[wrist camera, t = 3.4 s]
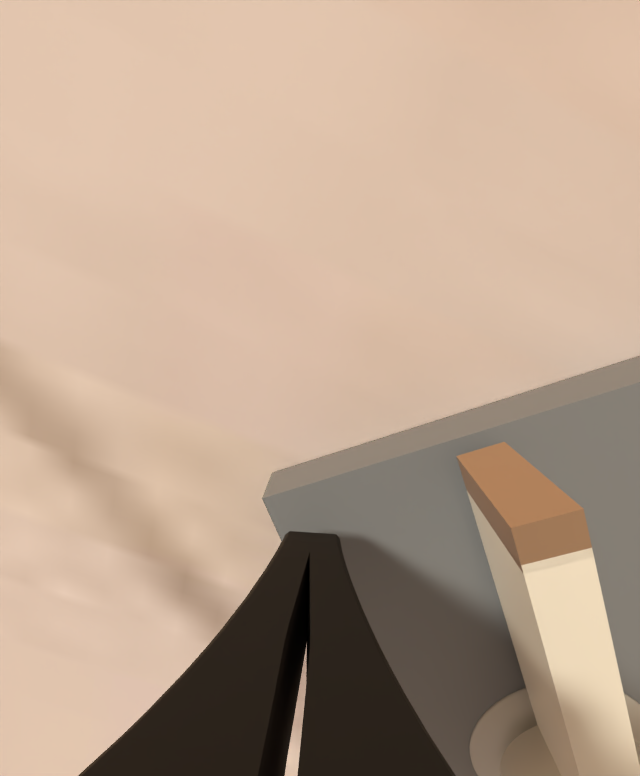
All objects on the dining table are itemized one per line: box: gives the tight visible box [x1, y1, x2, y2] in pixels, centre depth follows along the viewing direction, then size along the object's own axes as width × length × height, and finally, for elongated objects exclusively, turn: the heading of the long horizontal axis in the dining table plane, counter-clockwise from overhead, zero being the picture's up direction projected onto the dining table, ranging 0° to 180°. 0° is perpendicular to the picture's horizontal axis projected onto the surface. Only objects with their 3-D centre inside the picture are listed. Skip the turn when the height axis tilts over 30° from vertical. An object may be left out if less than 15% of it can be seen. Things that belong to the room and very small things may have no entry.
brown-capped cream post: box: [456, 442, 640, 776], centre depth 8 cm, size 14×4×3 cm, turn 20°
